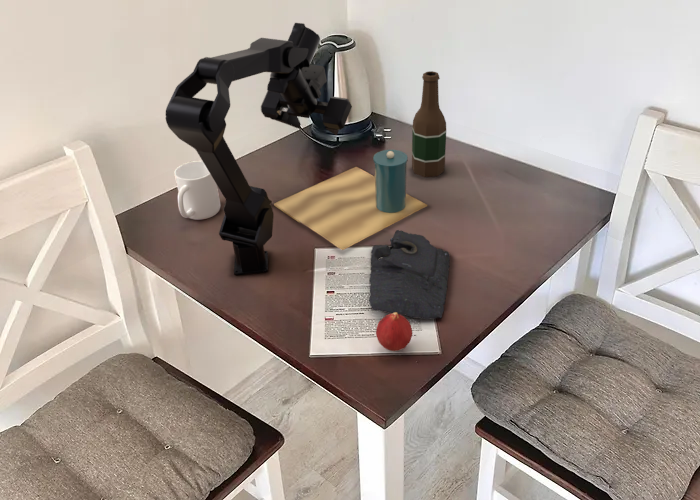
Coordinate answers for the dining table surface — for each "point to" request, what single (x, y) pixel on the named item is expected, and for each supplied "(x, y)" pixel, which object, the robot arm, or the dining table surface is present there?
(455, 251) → the dining table surface
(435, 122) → the beer bottle
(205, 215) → the cup
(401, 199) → the pot
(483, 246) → the dining table surface
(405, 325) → the onion
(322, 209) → the mat
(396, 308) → the dark slate chunk
